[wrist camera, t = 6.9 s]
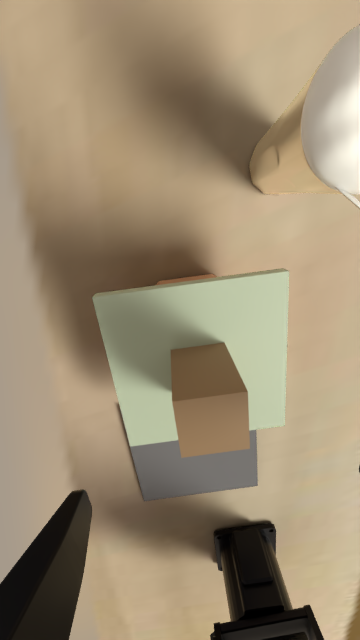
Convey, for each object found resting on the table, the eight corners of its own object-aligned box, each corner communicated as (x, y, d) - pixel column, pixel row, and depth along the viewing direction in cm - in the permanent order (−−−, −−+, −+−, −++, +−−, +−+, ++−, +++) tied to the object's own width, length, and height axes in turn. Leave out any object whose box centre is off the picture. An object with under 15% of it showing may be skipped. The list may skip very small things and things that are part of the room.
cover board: (279, 417, 17) (323, 493, 12) (131, 436, 17) (118, 520, 12) (282, 268, 14) (345, 294, 9) (96, 293, 14) (57, 332, 9)
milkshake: (221, 206, 16) (296, 184, 7) (256, 107, 14) (417, -103, 5) (286, 229, 17) (433, 238, 8) (326, 137, 15) (581, 1, 6)
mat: (256, 481, 25) (257, 485, 25) (144, 497, 25) (144, 501, 25) (253, 388, 21) (255, 391, 21) (121, 406, 21) (120, 409, 21)
